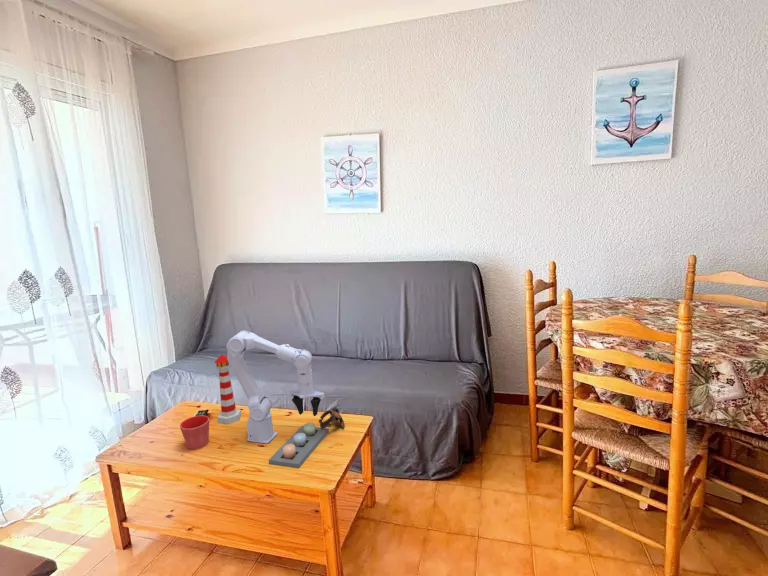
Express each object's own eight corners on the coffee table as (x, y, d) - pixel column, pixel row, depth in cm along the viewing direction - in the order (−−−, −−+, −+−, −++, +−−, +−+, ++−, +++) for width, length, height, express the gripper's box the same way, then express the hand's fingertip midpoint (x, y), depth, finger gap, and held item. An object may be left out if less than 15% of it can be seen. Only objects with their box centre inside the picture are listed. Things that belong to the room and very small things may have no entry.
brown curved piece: (344, 433, 167) (333, 419, 164) (325, 441, 170) (314, 428, 167) (348, 413, 178) (338, 399, 175) (330, 421, 181) (320, 407, 178)
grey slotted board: (268, 463, 149) (268, 459, 148) (302, 428, 172) (302, 425, 172) (298, 468, 145) (298, 464, 145) (328, 431, 168) (328, 428, 168)
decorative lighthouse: (245, 415, 187) (238, 351, 182) (232, 425, 179) (223, 358, 174) (227, 412, 191) (219, 350, 185) (213, 422, 182) (204, 356, 177)
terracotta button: (281, 457, 149) (280, 449, 149) (287, 451, 154) (286, 443, 153) (292, 459, 148) (291, 451, 148) (298, 452, 152) (297, 444, 152)
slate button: (292, 445, 157) (291, 438, 156) (298, 439, 161) (297, 432, 160) (302, 447, 156) (302, 439, 155) (308, 441, 160) (307, 433, 159)
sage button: (302, 435, 164) (301, 427, 164) (307, 429, 169) (307, 422, 168) (312, 436, 163) (311, 428, 163) (317, 430, 167) (316, 423, 167)
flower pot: (180, 454, 158) (176, 430, 157) (186, 439, 169) (183, 417, 167) (209, 449, 161) (206, 426, 159) (214, 435, 171) (211, 413, 169)
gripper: (283, 384, 161) (287, 417, 163) (317, 387, 156) (320, 420, 158) (292, 377, 167) (295, 409, 169) (325, 379, 163) (328, 412, 165)
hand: (308, 414), depth 164 cm, fingers open, 6 cm apart
